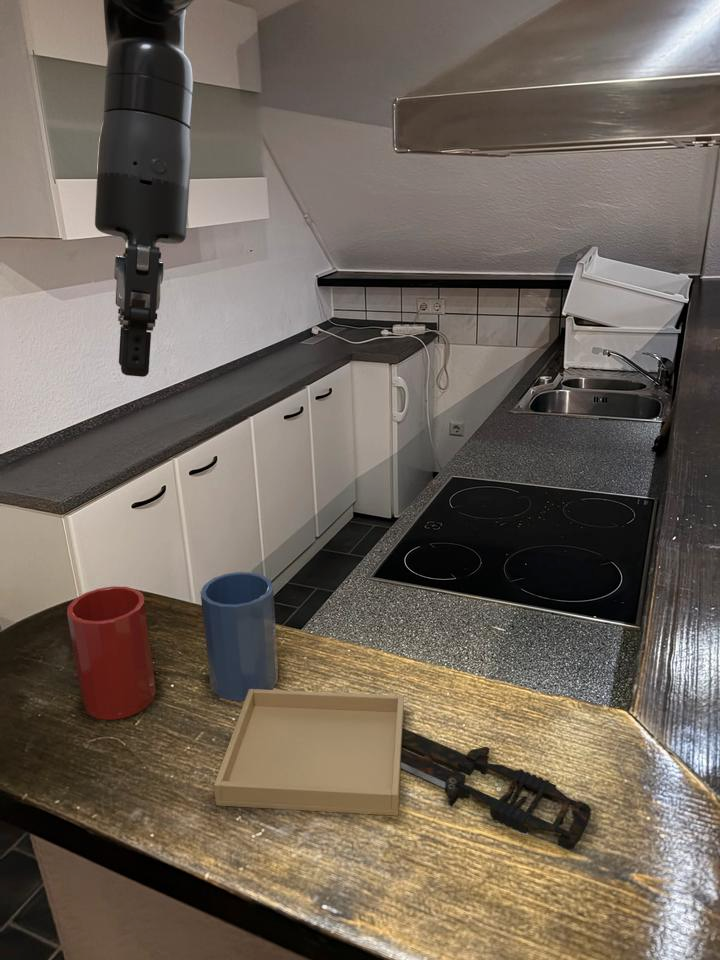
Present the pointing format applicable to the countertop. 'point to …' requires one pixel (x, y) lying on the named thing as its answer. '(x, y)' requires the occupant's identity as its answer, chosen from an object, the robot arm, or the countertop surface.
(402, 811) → the countertop surface
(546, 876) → the countertop surface
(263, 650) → the blue spoon cup
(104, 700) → the red spoon cup
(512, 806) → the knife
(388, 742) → the tray
